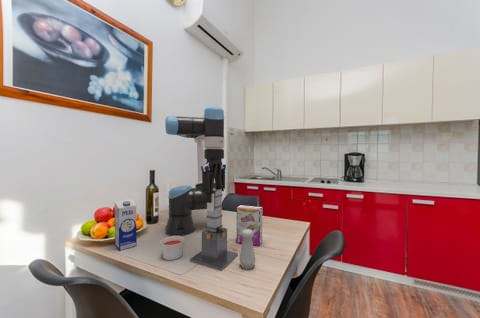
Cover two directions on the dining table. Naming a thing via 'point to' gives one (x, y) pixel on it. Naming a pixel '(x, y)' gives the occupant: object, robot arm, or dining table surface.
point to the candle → (172, 247)
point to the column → (215, 213)
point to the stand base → (214, 250)
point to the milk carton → (125, 224)
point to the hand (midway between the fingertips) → (214, 209)
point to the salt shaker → (247, 250)
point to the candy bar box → (249, 223)
